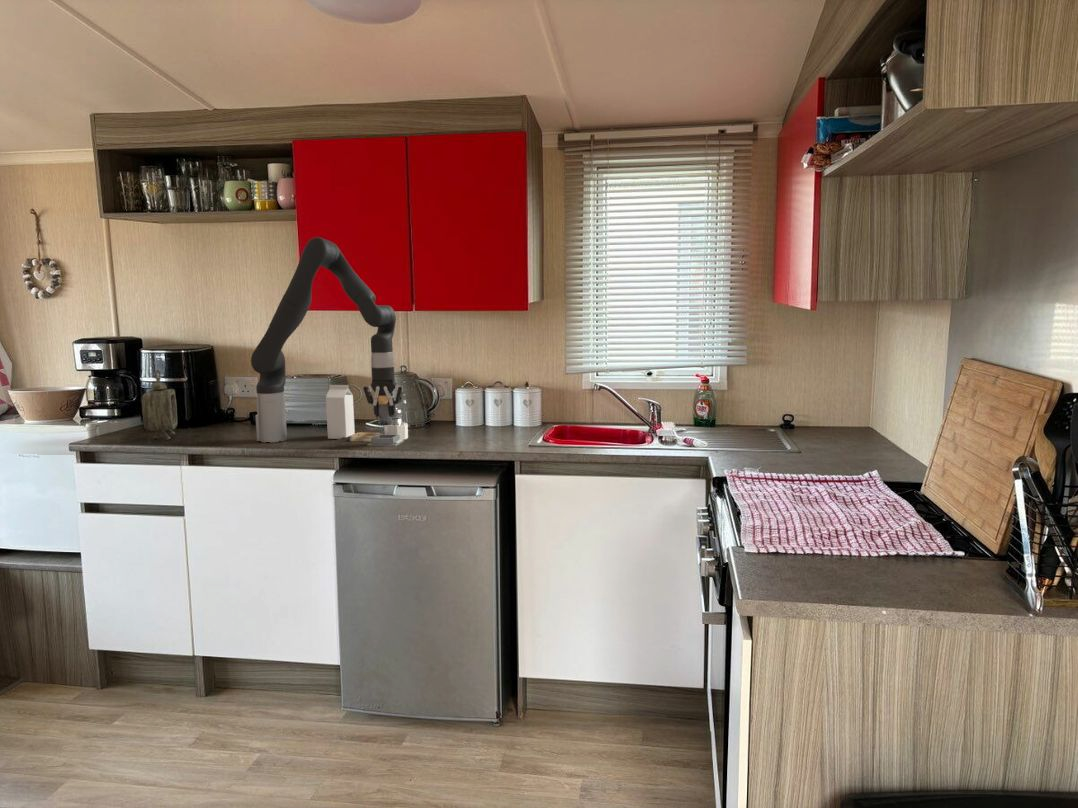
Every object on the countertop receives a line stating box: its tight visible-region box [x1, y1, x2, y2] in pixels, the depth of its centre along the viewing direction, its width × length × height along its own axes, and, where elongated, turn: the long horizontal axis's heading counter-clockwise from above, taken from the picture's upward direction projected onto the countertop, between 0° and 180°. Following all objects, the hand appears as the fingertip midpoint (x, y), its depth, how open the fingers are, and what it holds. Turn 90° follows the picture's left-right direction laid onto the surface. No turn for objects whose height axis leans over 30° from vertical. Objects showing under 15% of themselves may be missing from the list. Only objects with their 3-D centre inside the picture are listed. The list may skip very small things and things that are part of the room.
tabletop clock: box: [141, 369, 178, 440], centre depth 282 cm, size 14×9×25 cm, turn 16°
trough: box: [349, 432, 383, 442], centre depth 272 cm, size 9×7×2 cm
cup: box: [383, 421, 409, 441], centre depth 274 cm, size 7×7×6 cm
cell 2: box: [390, 407, 403, 426], centre depth 273 cm, size 4×4×11 cm
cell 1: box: [377, 395, 392, 426], centre depth 263 cm, size 4×4×11 cm
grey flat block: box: [366, 433, 405, 447], centre depth 265 cm, size 10×9×3 cm
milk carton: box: [325, 384, 356, 440], centre depth 280 cm, size 7×7×19 cm
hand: (384, 416), depth 263 cm, fingers closed on cell 1, 4 cm apart
